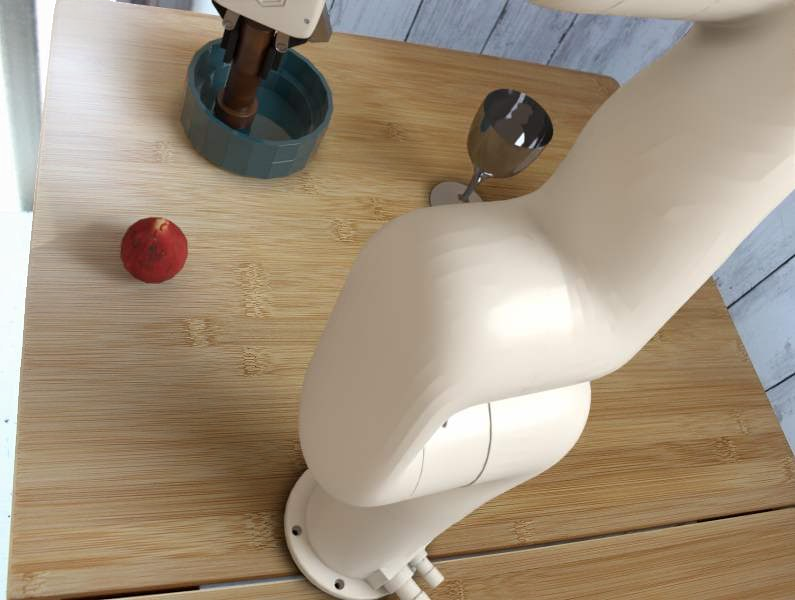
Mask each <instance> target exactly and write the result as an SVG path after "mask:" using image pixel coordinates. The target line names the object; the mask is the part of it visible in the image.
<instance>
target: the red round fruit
mask: <svg viewBox="0 0 795 600" xmlns="http://www.w3.org/2000/svg"><path fill="white" fill-rule="evenodd" d="M188 245H189V244H188V238H187V237H186V235H185V233H184V232H183V230H182V229H181V228H180V227H179V226H178V225H177V224H175V223H174V222H173V221H171V220H168V219H166V218H164V217H157V216H149V217H145V218H140V219H138V220H137V221H135V222H134V223H132V224H131V225H130V226H129V227H128V228H127V229H126V231H125V232H124V235H123V236H122V239H121V242H120V250H119V255H120V259H121V262H122V265H123V267H124V268H125V270H126V271H127V272H128V273H129V274H130V276H132V277H133V278H134V279H136V280H138V281H140V282H143V283H145V284H161V283H164V282H166V281H167V282H168V281H169V280H172V279H173V278H174V277H176V276H177V275H178V274H179V273H181V271H182V270H183V269H184V267H185V264H186V262H187V259H188V256H189V255H188V254H189V247H188Z"/></svg>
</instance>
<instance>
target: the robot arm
mask: <svg viewBox="0 0 795 600" xmlns="http://www.w3.org/2000/svg"><path fill="white" fill-rule="evenodd" d="M524 1H525V2H528V3H529V4H532V5H534V6H536V7H539V8H542V9H546V10H550V11H555V12H561V13H569V14H578V15H596V16H598V15H599V16H612V17H625V18H626V17H627V18H639V19H640V18H641V19H655V20H656V19H657V20H665V21H683V22H684V21H685V22H692V26H691V28H690V29H689V31H688V32H687V33H686V35H685V36H683V37H682V38H681V39H680V40H679V41H678V42H677V43H676V44H674V45H673V46H672V47H671V48H669V49H668V50H667V51H666V52H665V53H663V54H662V55H661V56H659V57H658V58H656V59H655V60H653V61H652V62H651V63H649V64H648V65H646V66H645V67H644V68H642V69H641V70H639V72H637V73H636V74H635V75H633V76H632V77H631V78H629V79H628V80H627V81H625V83H624V84H622V85H621V86H620V87H619V88H618V89H616V90H615V91H614V92H613V93H612V94H611V95H610V96H609V97H608V98H607V99H606V100H605V101H603V103H602V105H601V106H600V107H599V108H598V109H597V110H596V111H595V112H594V113H593V115H592V116H591V117H590V118H589V119H588V121H587V122H586V124H585V125H584V127H583V128H582V129H581V131H580V133H579V135H578V136H577V138H576V140H575V141H574V143H573V145H572V146H571V148H570V150H569V152H568V153H567V155H566V156H565V157H564V158H563V160H562V161H561V163H560V164H559V165H558V167H557V168H556V169H555V171H554V172H553V173H552V174H551V175H550V177H549V178H548V179H547V180H546V181H545V182H544V183H543V184H542V185H541V186H540V187H538V188H537V189H536V190H534V191H531V192H530V193H527V194H524V195H521V196H518V197H513V198H509V199H504V200H493V201H492V200H491V201H483V202H475V203H461V204H448V205H438V206H432V207H431V206H426V207H420V208H416V209H413V210H410V211H407V212H404V213H402V214H399V215H398V216H396V217H394V218H392V219H390V220H389V221H388V222H386V223H385V224H383V225H382V226H381V227H379V229H377V230H376V231H375V232H373V233H372V234H371V235H370V237H369V238H368V239H367V241H365V243H364V244H363V245H362V247H361V248H360V250H359V252H358V254H357V255H356V257H355V259H354V261H353V263H352V265H351V267H350V269H349V272H348V274H347V276H346V278H345V280H344V283H343V284H342V287H341V289H340V292H339V294H338V296H337V298H336V301H335V303H334V305H333V308H332V310H331V312H330V315H329V317H328V318H327V321H326V323H325V326H324V328H323V330H322V333H321V334H320V337H319V339H318V342H317V344H316V346H315V348H314V351H313V354H312V356H311V358H310V360H309V363H308V366H307V369H306V372H305V375H304V378H303V381H302V386H301V391H300V396H299V404H298V415H297V416H298V417H297V420H298V421H297V423H298V424H297V425H298V435H299V436H298V437H299V443H300V448H301V453H302V456H303V459H304V461H305V464H306V466H307V468H308V469H307V468H306V470H305V471H304V472H303V473H302V474H301V476H300V477H299V478H298V479H297V481H296V483H295V484H294V486H292V487H293V488H292V489H291V490H290V492H289V495H288V497H287V498H288V499H287V501H286V503H285V504H286V505H285V510H284V515H283V527H284V530H283V531H284V536H285V541H286V544H287V548H288V551H289V554H290V555H291V558H292V560H293V561H294V563H295V565H296V566H297V568H298V570H299V571H300V573H302V575H303V576H304V577H305V578H306V579H307V580H308V581H309V582H310V583H311V584H312V585H314V586H315V587H317V588H318V589H319V590H321V591H322V592H323V593H326V594H328V595H331V596H332V597H335V598H337V599H341V600H378V599H381V598H383V597H386V596H388V595H393V594H394V593H395V594H396V595H397V597H398V598H399V599H400V600H432V599H431V598H430V597H429V596H428V594H427V593H426V591H424V590H423V589H421V588H420V586H419V585H418V584H417V583H416V581H415V580H414V579H413V578H412V577H413V576H414V574H415V573H416V571H417V572H418V573H419V574H420V575H421V577H422V579H423V580H424V581H425V583H426V584H427V585H428V586H429V588H430V589H431V590H434V589H435V588H436V587H438V586H439V585H440V584H441V583H442V582H444V580H445V577H444V576H443V574H442V573H441V572H440V571H439V569H438V568H437V567H436V565H435V566H434V564H433V563H432V562H431V561H430V559H428V557H427V556H428V552H427V551H426V547H428V546H429V544H430V543H432V541H434V539H435V538H437V537H438V536H439V535H441V534H442V533H443V532H445V531H446V530H448V529H449V528H450V527H452V526H453V525H455V524H456V523H458V522H460V521H462V520H463V519H464V518H465V517H467V516H468V515H470V514H472V512H475V510H477V509H478V508H480V507H481V506H483V505H484V504H486V503H488V502H489V501H491V500H492V499H494V498H496V497H498V496H500V495H502V494H503V493H506V492H508V491H509V490H511V489H513V488H516V487H517V486H519V485H521V484H523V483H526V482H527V481H529V480H531V479H533V478H535V477H537V476H539V475H540V474H543V473H544V472H546V471H547V470H549V469H550V468H552V467H553V466H554V465H557V463H558V462H560V461H561V460H562V459H563V458H564V457H565V456H567V454H568V453H569V452H570V451H571V450H572V448H573V447H574V446H575V445H576V443H577V442H578V440H579V439H580V437H581V436H582V433H583V431H584V429H585V426H586V424H587V421H588V419H589V418H588V417H589V415H590V409H591V402H592V389H591V381H594V380H597V379H600V378H603V377H605V376H607V375H610V374H612V373H613V372H615V371H617V370H619V369H620V368H622V367H623V366H625V365H626V364H627V363H628V362H630V361H631V359H633V358H634V357H635V356H636V355H637V354H638V353H639V352H640V351H641V349H643V348H644V346H646V344H647V343H648V342H649V341H650V340H651V339H652V338H653V337H654V336H655V335H656V334H657V333H658V331H660V329H662V328H663V326H665V324H666V323H668V321H669V320H670V319H671V318H672V317H673V316H674V315H675V314H677V312H678V311H679V309H681V307H683V306H684V305H685V304H686V303H687V301H688V300H689V299H690V298H691V297H692V296H693V295H694V294H695V293H696V292H697V291H698V290H699V289H700V288H701V287H702V286H703V285H704V284H705V283H706V282H707V281H708V280H709V279H710V278H711V276H712V275H713V274H715V273H716V271H718V269H719V268H720V267H721V266H723V264H724V263H725V262H726V261H727V260H728V259H729V258H730V256H731V255H732V254H733V253H734V251H736V249H737V248H738V247H739V246H740V245H741V243H742V242H743V241H744V240H746V238H747V237H749V235H751V233H752V232H753V231H754V230H755V229H756V228H757V227H758V226H759V225H760V224H761V222H763V221H764V219H765V218H767V216H768V215H770V214H771V213H772V212H773V211H774V210H775V209H776V208H777V207H778V206H779V205H780V204H781V203H782V202H783V201H784V200H785V199H786V198H788V196H789V195H790V194H791V193H793V192H794V190H795V0H524ZM211 4H212V6H213V7H214V8H215V10H216V12H217V14H218V15H219V16H220V18H221V19H222V21H221V25H222V27H223V28H224V30H223V34H222V37H223V38H222V42H221V46H220V48H223V49H225V50H226V51H225V55H224V59H223V62H224V63H226V64H228V63H231V61H232V59H233V56H234V52H235V49H236V45H237V41H238V37H239V33H240V30H241V25H242V21H243V18H244V16H245V17H247V18H249V19H252V20H254V21H256V22H259V23H261V24H263V25H266V26H268V27H270V28H273V29H275V30H276V32H275V35H274V38H273V41H272V42H271V44H270V46H269V49H268V52H267V55H266V58H265V61H264V65H263V68H262V71H261V74H260V77H262V79H264V80H267V78H268V75H269V73H270V71H271V69H272V70H275V71H278V69H279V67H280V64H281V61H282V58H283V55H284V53H285V52H286V51H287V49H288V48H292V49H293V48H295V47H299V46H302V45H305V44H307V43H312V44H313V43H314V44H316V43H320V44H321V43H328V42H330V40H331V37H332V34H333V27H332V23H331V19H330V15H329V10H328V7H327V0H211ZM293 532H295V533H296V535H295V534H294V533H293ZM335 585H337V586H338V588H337V587H336V586H335Z"/></svg>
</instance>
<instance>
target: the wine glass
mask: <svg viewBox="0 0 795 600" xmlns="http://www.w3.org/2000/svg"><path fill="white" fill-rule="evenodd" d="M553 137H554V125H553V122H552V119H551V117H550V115H549V114H548V113H547V111H546V110H545V109H544V107H543V106H542V104H540V103H538V102H537V101H536V100H535V99H534V98H533V97H531V96H529V95H527V94H525V93H523V92H521V91H520V90H519V91H518V90H516V89H510V88H499V89H494V90H492V91H491V92H489V93H488V94H487V95H486V97H485V98H484V99H483V100H482V102H481V104H480V105H479V107H478V109H477V111H476V112H475V114H474V116H473V119H472V122H471V124H470V127H469V130H468V134H467V139H466V149H467V153H468V157H469V159H470V162H471V164H472V166H473V174H472V177H471V179H470V181H469V183H468V185H465V184H463V183H461V182H457V181H443V182H440V183H438V184H436V185H435V186H434V187H433V188H432V189H431V191H430V196H429V203H430V207H432V206H438V205H448V204H461V203H475V202H484V201H483V200H482V198H481V197H480V195H479V194H478V193H477V192H476V191H475V190H476V189H477V187H478V186H479V185H480V184H481V183H482V182H483V181H485V180H488V179H508V178H511V177H514V176H516V175H518V174H521V172H523V171H524V170H526V169H527V168H528V167H530V166H531V165H532V164H533V163H534V162H535V161H536V160H537V159H538V158H539V157H540V155H541V154H542V153H543V152H544V151H545V149H546V148H547V147H548V145H549V144H550V142H552V139H553Z"/></svg>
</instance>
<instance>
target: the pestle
mask: <svg viewBox="0 0 795 600" xmlns="http://www.w3.org/2000/svg"><path fill="white" fill-rule="evenodd" d="M276 32H277V30H275V29H273V28H270V27H268V26H266V25H263V24H261V23H259V22H256V21H254V20H252V19H249V18H247V17H245V16H244V18H243V21H242V25H241V30H240V33H239V37H238V41H237V45H236V49H235V52H234V56H233V59H232V63H231V67H230V71H229V74H228V78H227V82H226V86H225V87H223V88H222V89H220V90H219V92H218V93H217V97H216V101H215V105H214V114H215V117H216V118H217V119H218V120H220V121H221V122H223V123H224V124H226V125H227V126H228V127H230V128H233V129H244V128H247V127H249V126H250V125H251V124H252V123H253V122H254V119H255V116H256V113H257V110H258V101H257V98H256V97H255V96H256V93H257V90H258V87H259V83H260V80H261V77H260V74H261V71H262V68H263V65H264V61H265V58H266V55H267V52H268V49H269V46H270V44H271V42H272V41H273V38H274V35H275V33H276Z"/></svg>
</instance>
